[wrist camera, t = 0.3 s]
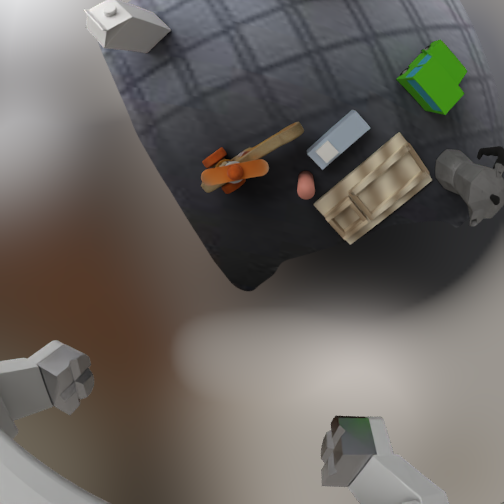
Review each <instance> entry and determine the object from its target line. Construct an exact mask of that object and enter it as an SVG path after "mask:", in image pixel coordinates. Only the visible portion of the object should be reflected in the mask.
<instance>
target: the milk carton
mask: <svg viewBox="0 0 504 504" xmlns="http://www.w3.org/2000/svg"><path fill="white" fill-rule="evenodd" d="M84 12H85V13H86V14H87V22H86V28H87V30H88V31H89V32H90V33H91V34H92V35H93V36H94V37H95V39H96V40H97V41H98V42H99V43H100V44H101V45H102V46H103V48H108V49H118V50H127V51H135V52H142V53H148V52H149V51H150V50H151V49H152V48H153V47H154V46H155V45H156V44H157V43H158V42H159V41H160V40H161V39H162V38H163V37H164V36H166V35H167V34H168V33H169V32H170V31H171V29H170V28H169V27H168V26H167V25H166V24H165V23H164V22H163V21H162V20H161V19H160V18H159V17H158V16H157V15H156V14H154V13H153V12H151V11H148V10H146V9H143V8H141V7H138V6H135V5H133V4H130V3H127V2H124V1H121V0H106V1H104V2H102V3H100V4H98V5H96V6H95V7H93V8H91V9H89V10H84Z"/></svg>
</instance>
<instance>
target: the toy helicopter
mask: <svg viewBox="0 0 504 504" xmlns="http://www.w3.org/2000/svg"><path fill="white" fill-rule="evenodd" d="M303 132H304V129H303V127H302V126H301V124H300V122H295V123H293V124H291V125H289V126H287V127H286V128H284V129H282V130H281V131H279V132H278V133H276V134H275V135H273V136H271V137H270V138H268V139H266V140H265V141H263V142H261V143H260V144H258V145H256V146H255V147H253V148H251V147H250V148H247V149H246V150H244V151H243V152H241V153H239V154H238V155H237V156H236V157H234V158H232V159H231V160H228V159H225V158H224V157H225V156H226V155H227V153H226V151H225V150H224V149H223V148H222V147H221V148H220V149H218V150H217V151H215V152H214V153H213V154H211V155H210V156H209V157H207V158H206V159H205V160H203V161H202V163H203V164H204V165H205V167H206V168H209V167H212V169H207V170H205V171H204V172H203V173H202V175H201V180H202V182H203V183H202V184H201V187H202V188H203V189H204V190H205V192H207V193H209V192H212V191H214V190H216V189H217V188H219V187H220V186H222V190H223V191H224V192H225V193H226V194H229V193H231V192H233V191H235V190H236V189H238V188H239V187H240V186H241V185H243V184H244V183H245V181H246V180H245V179H247V178H252V177H258V176H263V175H265V174H266V173H267V172H268V170H269V166H268V163H267V162H266V161H265V160H262V159H260V158H262V157H263V156H265V155H267V154H268V153H270V152H271V151H273V150H275V149H276V148H278V147H280V146H282V145H284V144H286V143H288V142H290V141H292V140H294V139H296V138H297V137H299V136H300V135H301V134H302V133H303ZM258 159H259V160H258Z"/></svg>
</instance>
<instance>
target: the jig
mask: <svg viewBox="0 0 504 504" xmlns="http://www.w3.org/2000/svg"><path fill="white" fill-rule="evenodd" d="M429 174H430V173H429V171H428V170H427V168H426V167H425V165H424V164H423V162H422V161H421V159H420V158H419V156H418V155H417V153H416V152H415V150H414V149H413V147H412V146H411V145H410V143H408V142H407V141H406V140H405V139H404V137H403V136H402V135H401V133H399V132H398V133H397V134H396V135H395V136H394V137H392V138H391V139H390V140H389V141H388V142H386V143H385V144H384V145H383V146H382V147H380V148H379V149H378V150H377V151H376V152H375V153H373V154H372V155H371V156H370V157H369V158H367V159H366V160H365V161H364V162H363V163H361V164H360V165H359V166H358V167H357V168H355V169H354V170H353V171H352V172H351V173H349V174H348V175H347V176H346V177H345V178H343V179H342V180H341V181H340V182H339V183H338V184H336V185H335V186H334V187H333V188H332V189H330V190H329V191H328V192H327V193H326V194H324V195H323V196H322V197H321V198H320V199H318V200H317V201H316V202H315V203H314V206H315V207H316V208H317V209H318V210H319V211H320V212H321V214H322V215H323V216H324V217H325V219H326V220H327V221H328V223H329V224H330V225H331V226H332V227H333V228H334V229H335V230H336V231H337V232H338V233H339V235H340V236H341V237H342V238H343V239H344V240H346V241H347V242H348V243H349V244H350V245H351V244H352V243H353V242H355V241H356V240H357V239H359V238H360V237H361V236H363V235H364V234H365V233H367V232H368V231H369V230H370V229H372V228H373V227H374V226H376V225H377V224H378V223H380V222H381V221H382V220H383V219H385V218H386V217H387V216H389V215H390V214H391V213H392V212H394V211H395V210H396V209H397V208H399V207H400V206H401V205H402V204H404V203H405V202H406V201H407V200H409V199H410V198H411V197H412V196H414V195H415V194H416V193H417V192H419V191H420V190H421V189H422V188H423V187H425V186H426V185H427V184H428V183H429V182H431V181H432V179H431V177H430V175H429Z"/></svg>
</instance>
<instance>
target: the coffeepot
mask: <svg viewBox="0 0 504 504" xmlns="http://www.w3.org/2000/svg"><path fill="white" fill-rule="evenodd" d="M483 154H484V155H486V156H490V155H493V156H498V159H497V161H496V162H495V165H494V167H493V169H492V168H489V167H485V166H482V165H478V164H474V163H473V162H472V161H471V160H470V159H469V158H468V157H467V156H466V155H465V154H463V153H462V152H461V151H460V150H454V149H446V150H445V151H444V152H443V153H442V154H440V156H439V157H438V159H437V160H436V165H435V177H436V178H437V180H438V181H439V183H440V184H441V185H442V187H443V188H444V189H446V190H449V191H451V192H454V193H456V194H459V195H460V196H461V197H462V199H463V200H464V201H465V203H466V204H467V205H468V210H469V216H470V226H476V225H477V224H479V223H480V222H481V221H482V219H483V218H492V217H493V216H494V215H495V214H496V213H497V212H498V211H499V210H500V209H501V207H502V206H503V205H504V180H503V178H502V173H503V171H504V149H503V148H502V147H490V148H481V149H480V150H479V152H478V156H477V158H478V159H479V160H480V158H481V157H482V155H483Z"/></svg>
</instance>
